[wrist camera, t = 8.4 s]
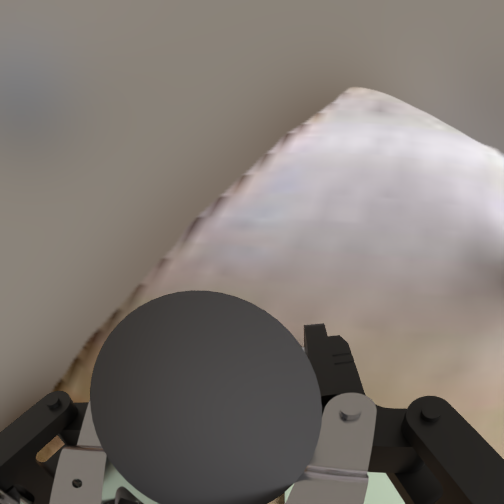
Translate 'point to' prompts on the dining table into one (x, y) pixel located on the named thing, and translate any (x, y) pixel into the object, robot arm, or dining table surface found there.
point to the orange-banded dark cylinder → (205, 401)
